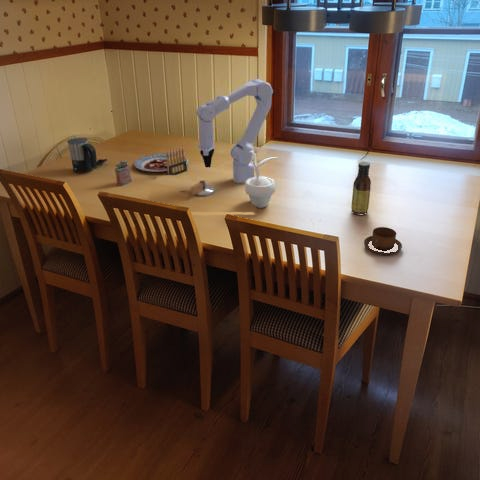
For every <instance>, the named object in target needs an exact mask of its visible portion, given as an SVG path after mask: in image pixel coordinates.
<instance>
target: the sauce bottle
mask: <svg viewBox="0 0 480 480" xmlns="http://www.w3.org/2000/svg"><path fill="white" fill-rule="evenodd" d="M370 167H371V163H370V162H367V161H360V162H358V166H357V168H358V171H357V176H356V177H355V179H354V181H353V186H352V196H351V197H352V198H351V205H350V206H351V213H352V212H353V213H355V214H365V213H367V214H368V210H369V205H370V198H371V197H370V196H371V189H372V188H371V186H372V185H371V184H372V182H371V178H370V175H369V174H370V173H369V172H370ZM353 213H352V214H353ZM355 214H354V215H355ZM365 215H366V214H365Z"/></svg>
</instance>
